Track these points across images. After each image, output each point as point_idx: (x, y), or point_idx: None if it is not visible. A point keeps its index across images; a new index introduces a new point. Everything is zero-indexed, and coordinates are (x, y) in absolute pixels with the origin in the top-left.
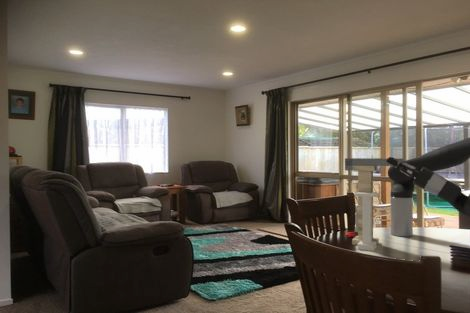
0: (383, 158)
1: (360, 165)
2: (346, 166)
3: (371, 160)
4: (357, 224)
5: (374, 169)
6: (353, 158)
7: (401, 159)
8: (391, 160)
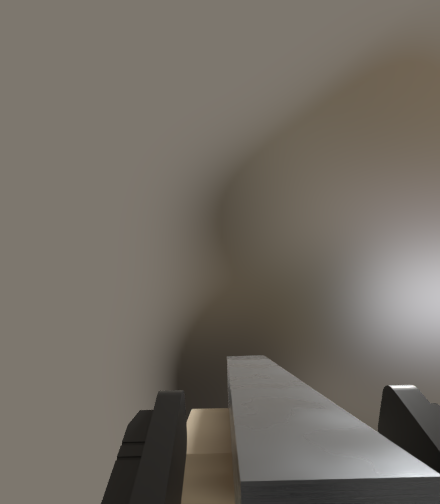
0: (241, 391)
1: (229, 415)
2: (228, 402)
3: (229, 392)
4: None
5: (187, 490)
6: (227, 361)
7: (241, 497)
8: (125, 451)
